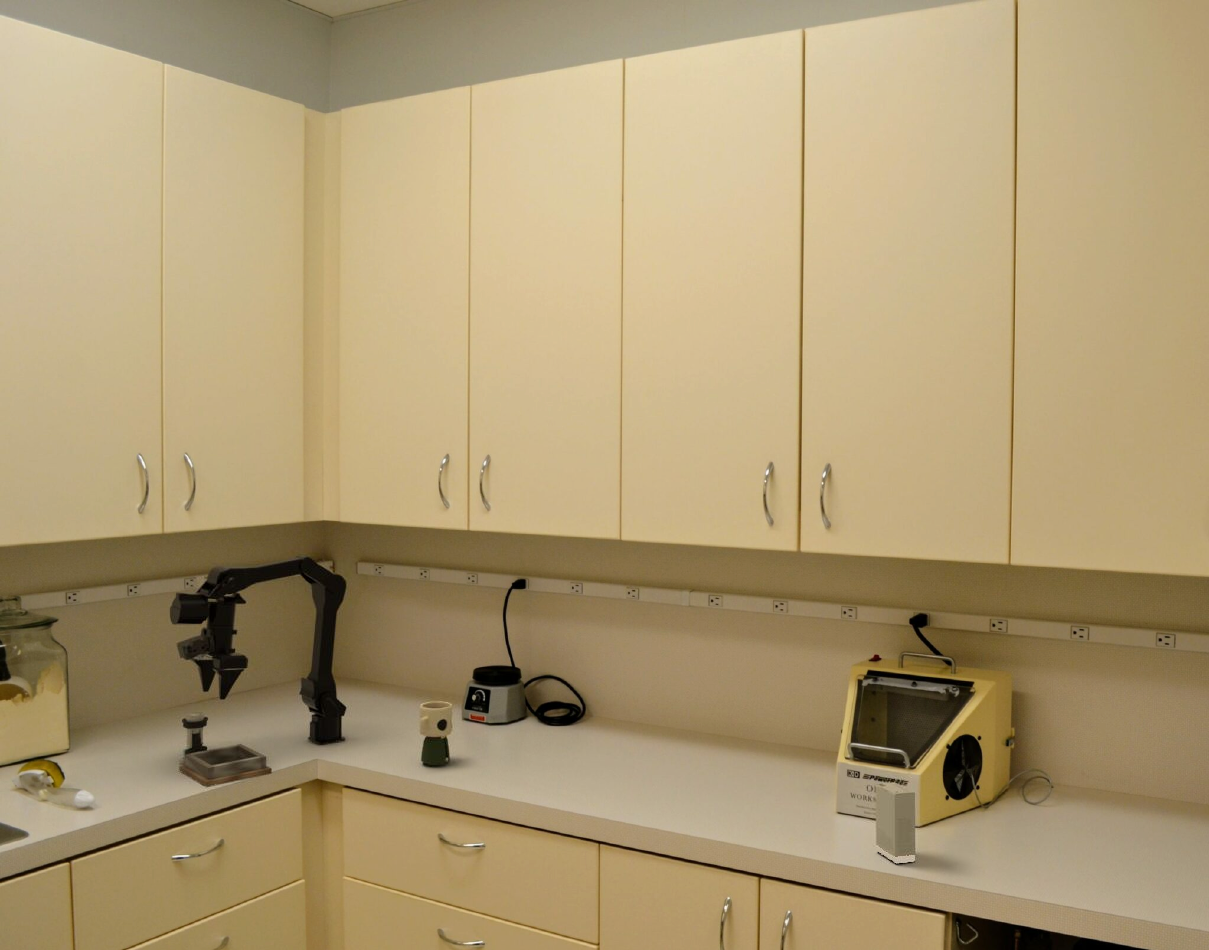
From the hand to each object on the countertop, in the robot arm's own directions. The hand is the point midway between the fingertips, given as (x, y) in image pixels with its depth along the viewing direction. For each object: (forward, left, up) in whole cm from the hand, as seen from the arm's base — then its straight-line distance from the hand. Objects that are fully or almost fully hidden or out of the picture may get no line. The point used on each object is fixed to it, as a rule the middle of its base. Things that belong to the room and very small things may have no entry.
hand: (213, 695), depth 225 cm
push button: (+3, -4, -15) cm, 16 cm away
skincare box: (-65, +129, -15) cm, 145 cm away
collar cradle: (+1, +9, -15) cm, 17 cm away
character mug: (-36, +33, -15) cm, 51 cm away
